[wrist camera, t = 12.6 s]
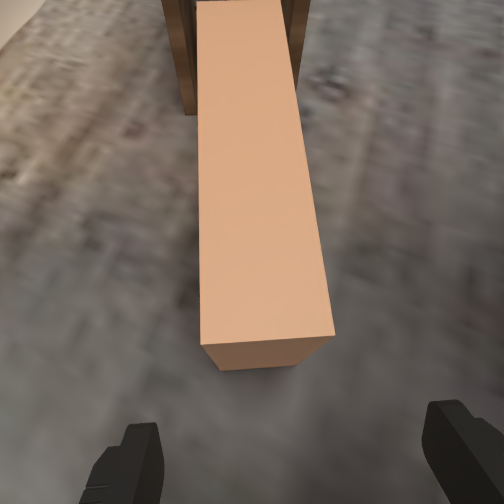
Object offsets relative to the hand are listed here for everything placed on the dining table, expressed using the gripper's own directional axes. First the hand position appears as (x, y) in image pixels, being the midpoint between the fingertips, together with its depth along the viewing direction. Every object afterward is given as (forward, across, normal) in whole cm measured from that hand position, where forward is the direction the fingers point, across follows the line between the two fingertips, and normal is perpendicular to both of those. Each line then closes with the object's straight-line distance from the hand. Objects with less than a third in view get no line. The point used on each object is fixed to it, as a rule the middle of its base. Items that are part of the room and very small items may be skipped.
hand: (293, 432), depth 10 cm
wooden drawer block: (+16, +1, -1) cm, 16 cm away
